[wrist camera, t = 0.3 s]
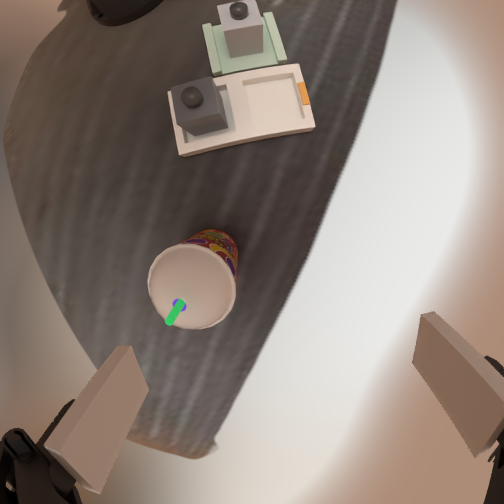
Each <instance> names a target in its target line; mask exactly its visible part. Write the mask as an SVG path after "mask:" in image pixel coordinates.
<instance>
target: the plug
mask: <svg viewBox="0 0 504 504" xmlns="http://www.w3.org/2000/svg"><path fill="white" fill-rule="evenodd" d="M217 8H218V12H219V16H220V20H221V24H222V28H223V32H224V36H225V39H226V43H227V47H228V50H229V54H230V58H236V57H241V56H246V55H252V54H258V53H263V22H262V19H261V16H260V13H259V10H258V7H257V4H256V1H255V0H245V1H239V2H233V3H228V4H223V5H218V6H217Z"/></svg>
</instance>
